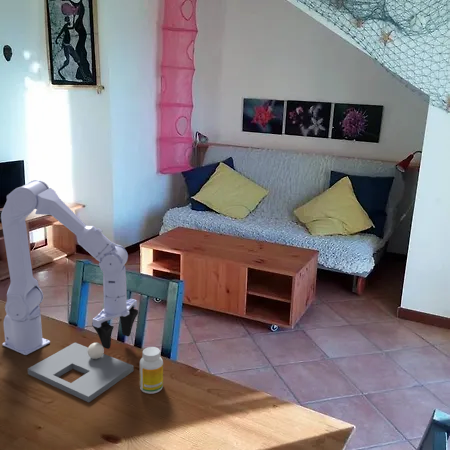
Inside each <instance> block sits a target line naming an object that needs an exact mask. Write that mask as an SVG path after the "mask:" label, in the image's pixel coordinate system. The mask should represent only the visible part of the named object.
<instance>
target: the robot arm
mask: <svg viewBox="0 0 450 450" xmlns="http://www.w3.org/2000/svg"><path fill="white" fill-rule="evenodd" d="M35 210H36V211H35ZM34 211H35V215H42V216H45V215H46V216H48V215H49V216H52V217H53V218H54V219H55V220H57V221H58V222H59V223H61V224H62V225H63V226H64V227H65V228H66V229H68V230H69V231H70V232H71V233H73V234H74V235H75V236H76V240H77V243H78V245H79V246H80V247H82V248H83V249H84V250H85V251H86V252H88V253H89V254H90V256H92V257H93V259H95V260H96V261H98V262H99V263H98V266H99V268H100V270H101V271H102V276H103V277H102V283H103V284H102V287H103V291H102V292H103V309H102V310H101V311H100V312H99V313H98V314H97V315H96V316H95V317H94V318H92V323H91V326H92V327H93V329H94V330H95V332H96V333H97V335H98V337H99V340H100V344H101V345H102V346H103V348H104V349H107V350H110V348H111V345H112V332H113V331H114V326H113V325H111V324H110V323H109V321H110V320H113V319H116V318H117V319H118V318H119V319H120V326H121V327H120V329H121V335H123V336H124V337H125V336H126V337H130V335H131V333H132V329H133V325H134V323H135V322H134V321H135V320H136V318H137V316H138V315H139V310H138V309H136V308H137V306H138V299H137V300H136V299H134V298H129V299H127V298H128V297H127V275H126V274H127V273H126V272H127V271H126V265H125V264H127V262H128V259H129V254H128V252H127V250H126V248H125V247H124V246H123V245H120V244H117V243H115V242H114V241H111V240H110V239H109V238H108V237H107V236H106V235H105V234H104V233H103V230H102V229H101V228H100V227H98V228H97V227H96V226H95V225H87V224H86V223H84V222H83V220H82V219H80V217H79V216H78V215H77V214H76V213H75V212H74V211H72V209H70V207H69V206H68V205H67V204H65V202H63V200H62V199H61V198H60V196H59V195H58V193H56V191H55V190H54V189H53V188H51V187H49V185H48V184H47V183H46V182H44V181H43V180H41V179H34V180H31V181H30V182H28V183H26V184H23V185H22V186H19V187H16V188H15V189H13V190H12V191H10V193H8V194H7V195H6V202H5V204H4V206H3V208H2V211H1V212H0V213H1V214H0V220H1V227H2V234H3V239H4V240H3V241H4V246H5V251H6V253H5V254H6V258H7V259H6V260H7V266H8V272H9V278H10V282H9V283H10V284H9V286H8V289H7V293H6V302H5V306H4V309H5V313H6V315H5V316H4V319H3V332H4V340H5V341H4V342H3V343H2V346H3V347H6V348H8V349H10V350H12V351H15V352H17V353H20V354H21V355H24V356H27V355H29V354H32V353H33V352H35V351H37V350H39V349H41V348H43V347H45V346H47V345H48V344H49V345H50V343H51V340H49V339H46V338H44V337H43V330H42V329H43V326H42V313H41V309H40V304H41V303H42V302H43V300H44V292H43V290H42V289H41V288H40V286H39V281H38V279H36V278H35V277H34V274H33V266H32V261H31V260H32V259H31V253H30V252H31V251H30V245H29V238H28V229H27V224H26V219H27V218H28V217H29V216H30V214H32V213H33V212H34Z"/></svg>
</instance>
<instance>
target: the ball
mask: <svg viewBox="0 0 450 450" xmlns="http://www.w3.org/2000/svg"><path fill="white" fill-rule="evenodd" d="M87 352H88V355H89V357H90V358H92V359H98V358H100V357H101V356H102V355H103V354H105V353H104V352H105V348H104V347H103V346H102V343H101V342H93V343H91V344H90V345H89V346H88V350H87Z"/></svg>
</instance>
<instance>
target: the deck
mask: <svg viewBox="0 0 450 450" xmlns="http://www.w3.org/2000/svg"><path fill="white" fill-rule="evenodd" d="M88 347H89V346H88ZM88 347H87V346H85V345H83V344H80V343H78V342H73V343H71V344H70V345H68V346H65V347H64V348H62V349H60V350H59V351H57V352H56V353H52V355H50V356H48V357H46V358H44V359H43V360H41V361H39V362H37V363H35V364H34V365H31V366H30V367H28V368H27V375H29V376H31V377H33V378H35V379H37V380H40V381H42V382H44V383H46V384H48V385H51V386H53V387H54V388H56V389H59V390H61V391H63V392H66V393H67V394H70V395H72V396H74V397H75V398H78V399H80V400H82V401H85V402H87V403H90V402H92V401H93V400H95V399H96V398H97V397H98V396H101V395H102V394H103V393H105V392H106V391H107V390H109V389H110V388H112V387H113V386H114V385H115V384H117V383H120V381H121V380H123V379H124V378H126V377H127V376H128V375H130V374H131V373H133V372H134V365H133V364H131V363H129V362H126V361H123V360H121V359H118V358H115V357H113V356H110V355H108V354H105V353H103V355H102V356H101V357H100V358H98V359H92V358H90V357H89V355H88V352H87V350H88ZM72 370H74V371H76V372H79V373H81V374H83V375H82V376H80V377H78V378H77V379H75V380H73V381H72V382H70V381H68V380H65V379H63V378H61V377H62V376H63V375H65V374H66V373H68V372H70V371H72Z"/></svg>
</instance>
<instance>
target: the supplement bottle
mask: <svg viewBox="0 0 450 450" xmlns="http://www.w3.org/2000/svg"><path fill="white" fill-rule="evenodd" d="M163 387H164V360H163V358H162V357H161V350H160V348H158V347H155V346H148V347H146V348H144V349H143V350H142V357H141V358H140V360H139V388H140V390H141V392H143V393H144V394H148V395H149V394H156V393H160V391H161V390H162V389H163Z"/></svg>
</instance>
